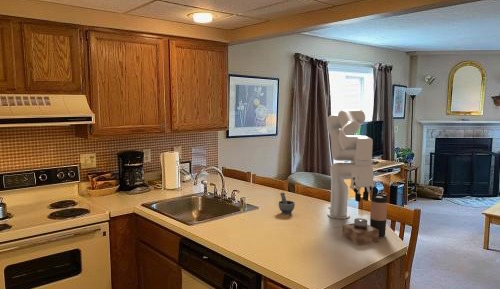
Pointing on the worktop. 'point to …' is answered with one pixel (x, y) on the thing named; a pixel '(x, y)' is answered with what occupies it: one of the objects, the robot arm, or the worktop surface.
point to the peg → (360, 223)
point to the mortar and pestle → (286, 205)
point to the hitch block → (360, 234)
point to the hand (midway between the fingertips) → (361, 200)
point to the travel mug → (379, 213)
